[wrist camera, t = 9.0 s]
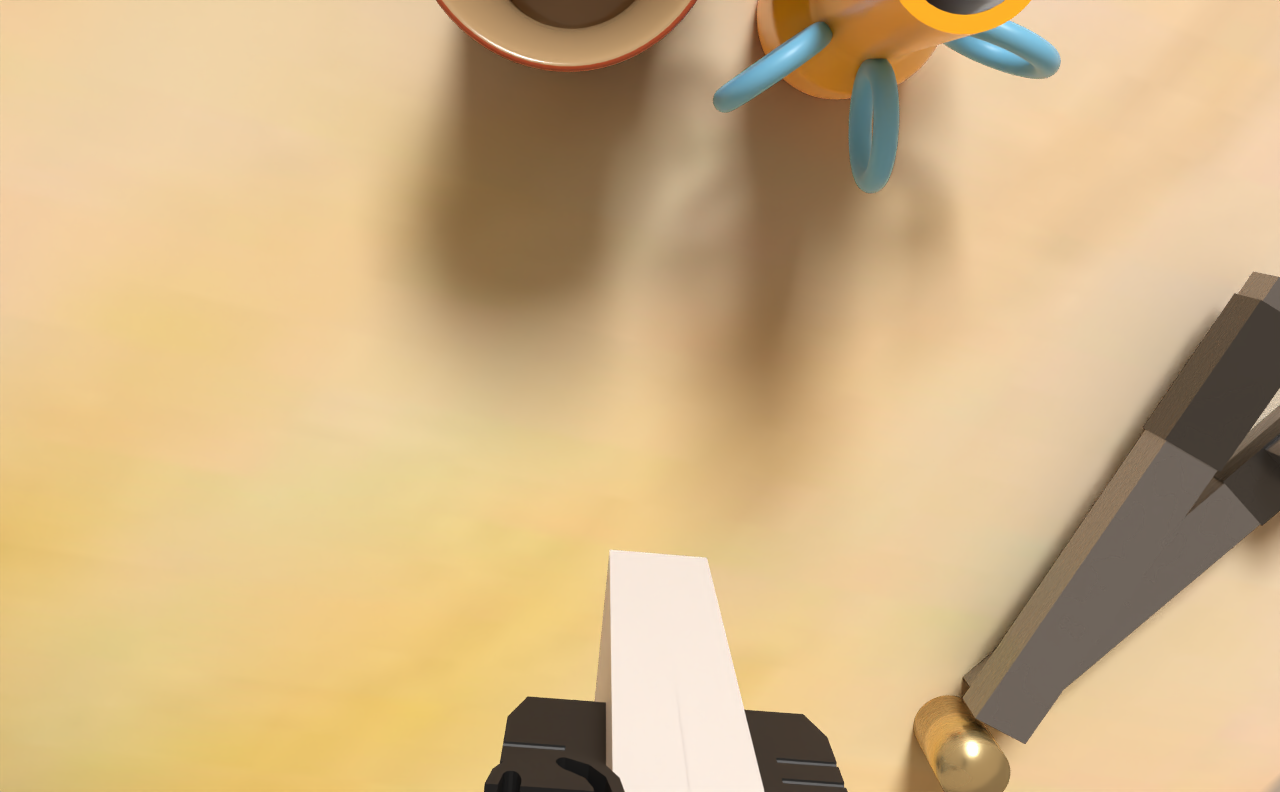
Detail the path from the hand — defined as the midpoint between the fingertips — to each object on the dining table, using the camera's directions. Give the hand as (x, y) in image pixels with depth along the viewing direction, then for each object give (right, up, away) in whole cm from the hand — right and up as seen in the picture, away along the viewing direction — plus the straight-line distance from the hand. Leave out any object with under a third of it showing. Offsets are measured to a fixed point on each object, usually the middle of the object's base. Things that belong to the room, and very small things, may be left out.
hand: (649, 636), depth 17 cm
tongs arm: (+19, -1, +26) cm, 32 cm away
